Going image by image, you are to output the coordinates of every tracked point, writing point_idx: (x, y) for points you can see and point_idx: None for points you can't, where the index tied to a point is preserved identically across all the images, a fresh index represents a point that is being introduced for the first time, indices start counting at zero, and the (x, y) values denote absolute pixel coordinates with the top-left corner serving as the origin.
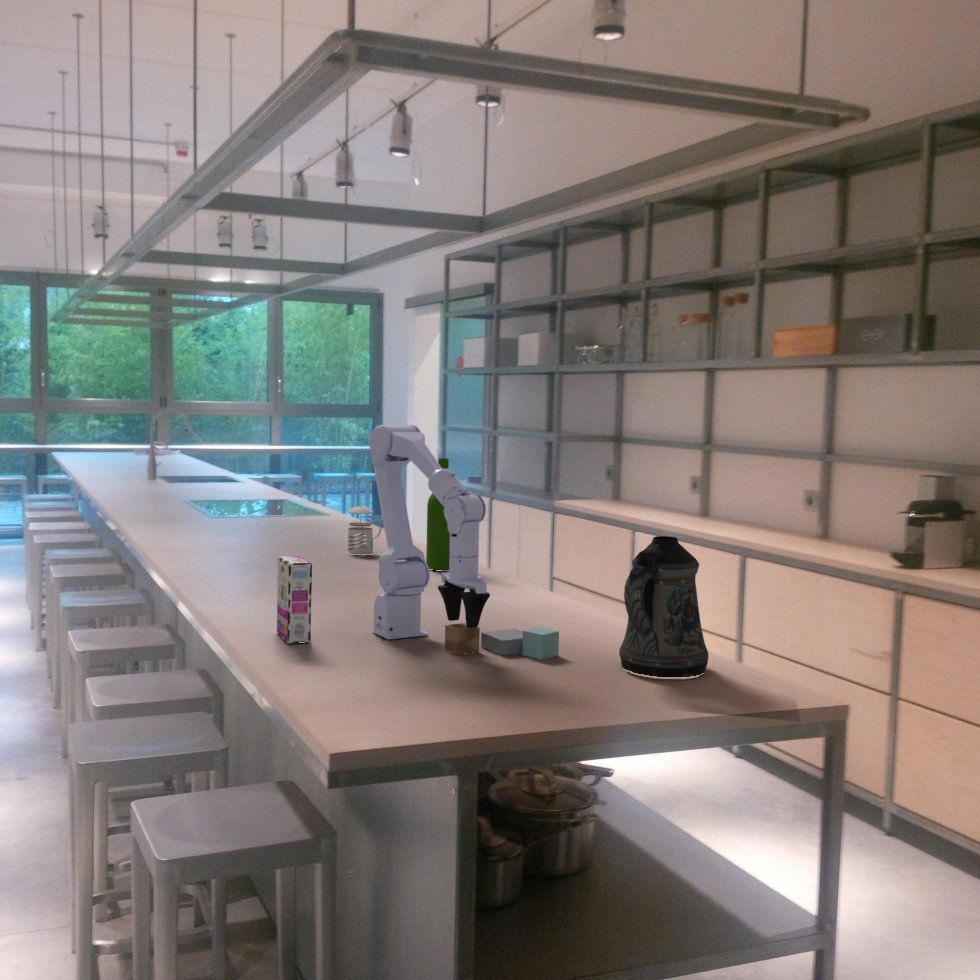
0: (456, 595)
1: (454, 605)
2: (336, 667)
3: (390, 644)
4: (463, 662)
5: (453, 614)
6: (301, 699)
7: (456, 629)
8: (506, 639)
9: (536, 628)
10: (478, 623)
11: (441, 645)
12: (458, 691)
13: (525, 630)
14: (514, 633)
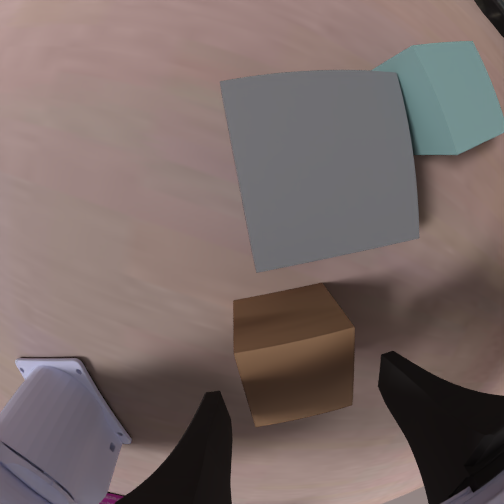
0: (215, 500)
1: (218, 459)
2: (317, 495)
3: (170, 445)
4: (400, 349)
5: (226, 429)
6: (412, 487)
7: (342, 407)
8: (411, 214)
9: (436, 77)
10: (403, 357)
11: (196, 364)
12: (500, 369)
13: (458, 144)
14: (322, 125)
